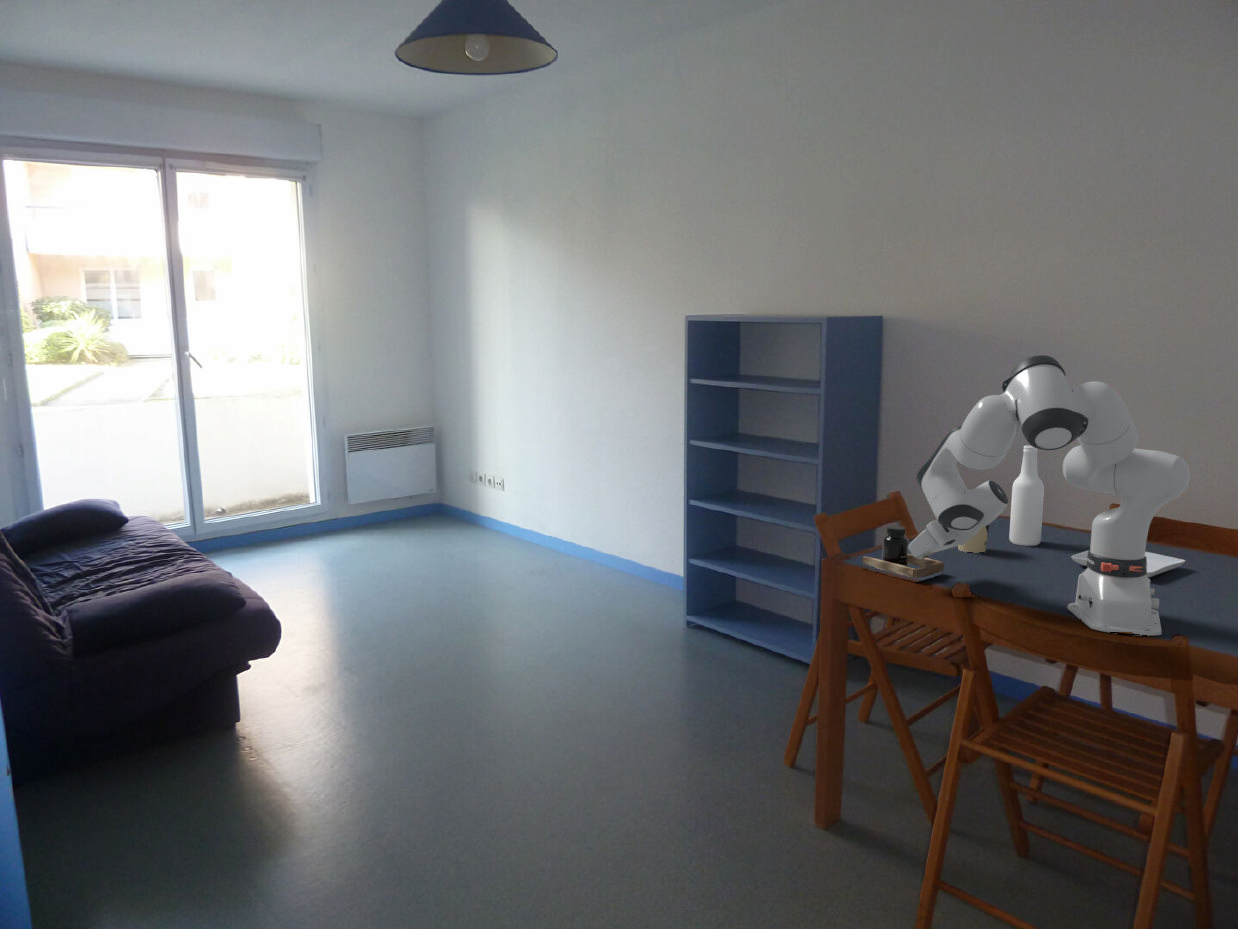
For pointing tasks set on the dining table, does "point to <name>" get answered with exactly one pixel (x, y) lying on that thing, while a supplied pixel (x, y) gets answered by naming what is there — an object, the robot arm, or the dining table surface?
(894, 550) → the supplement bottle
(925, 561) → the wooden tray
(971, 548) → the coffee cup
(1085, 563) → the salad plate
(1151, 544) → the dining table surface
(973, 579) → the dining table surface
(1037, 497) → the alcohol
